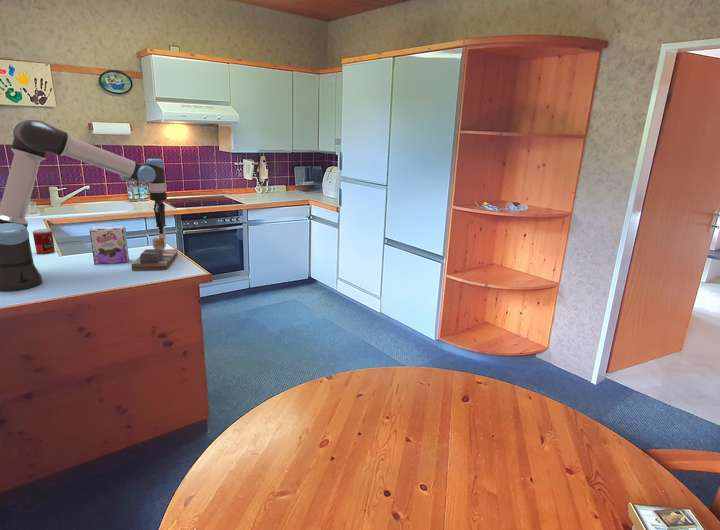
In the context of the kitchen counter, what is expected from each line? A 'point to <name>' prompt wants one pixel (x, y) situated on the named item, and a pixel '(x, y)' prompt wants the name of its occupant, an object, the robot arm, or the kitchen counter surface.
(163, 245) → the bolt
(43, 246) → the canned food
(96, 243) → the candy box
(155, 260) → the door mockup
